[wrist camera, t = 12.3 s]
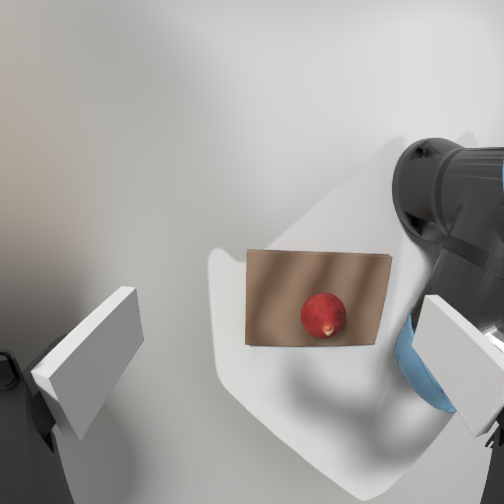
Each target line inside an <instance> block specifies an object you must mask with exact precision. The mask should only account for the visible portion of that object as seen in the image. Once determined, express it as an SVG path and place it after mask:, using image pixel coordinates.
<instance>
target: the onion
mask: <svg viewBox="0 0 504 504" xmlns="http://www.w3.org/2000/svg"><path fill="white" fill-rule="evenodd" d="M300 314H301V323H302V325H303V327H304V329H305V330H306V331H307V332H308V333H309V334H311V335H312V336H313V337H317V338H320V339H326V338H331V337H333V336H335V335H336V334H338V333H339V332H340V331H341V329H342V328H343V326H344V324H345V321H346V309H345V307H344V304H343V302H342V301H341V300H340V299H339V298H338V297H336V296H335V295H334V294H330V293H318V294H315V295H313V296H311V297H309V298H308V299H307V301H306V302H305V303H304V304H303V306H302V309H301V311H300Z"/></svg>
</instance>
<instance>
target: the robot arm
mask: <svg viewBox="0 0 504 504" xmlns="http://www.w3.org/2000/svg"><path fill="white" fill-rule="evenodd" d="M392 193H393V201H394V205H395V208H396V211H397V214H398V216H399V218H400V220H401V221H402V223H403V224H404V226H405V227H406V228H407V229H408V230H409V231H410V232H411V233H412V234H414V235H415V236H417V237H419V238H421V239H423V240H425V241H428V242H431V243H444V245H443V247H442V249H441V252H440V254H439V257H438V259H437V261H436V264H435V266H434V268H433V270H432V273H431V275H430V277H429V279H428V281H427V283H426V285H425V287H424V289H423V291H422V293H421V295H420V297H419V299H418V300H417V302H416V304H415V306H414V308H412V309H411V310H410V311H409V313H408V319H407V321H406V323H405V325H404V327H403V329H402V331H401V333H400V335H399V336H398V339H397V341H396V347H395V354H396V359H397V361H398V363H399V368H400V370H401V372H402V374H403V375H404V377H405V379H406V380H407V382H408V383H409V384H410V386H411V387H412V388H413V389H414V390H415V391H416V393H417V394H418V395H419V396H420V397H421V398H423V399H424V400H425V401H426V402H427V403H429V404H430V405H431V406H433V407H435V408H437V409H439V410H442V409H443V410H444V411H445V412H448V413H453V412H457V411H458V413H459V415H460V416H461V418H462V419H463V421H464V422H465V424H466V426H467V427H468V429H469V430H470V432H471V434H472V435H473V437H474V438H475V437H478V436H480V435H482V434H485V433H487V432H488V431H489V430H490V428H491V427H492V425H493V424H494V422H495V421H497V422H498V424H499V426H498V428H497V429H496V430H495V432H494V433H493V435H492V436H491V437H490V439H489V440H488V441H487V443H486V445H485V447H488V445H489V444H490V443H491V441H494V442H493V444H492V446H491V447H490V448H493V449H492V455H491V461H490V466H489V471H488V475H487V480H486V484H485V488H484V492H483V495H482V499H481V503H480V504H504V147H488V148H464V147H462V146H460V145H458V144H456V143H454V142H451V141H449V140H447V139H443V138H428V139H422V140H419V141H417V142H415V143H413V144H412V145H410V146H409V147H408V148H407V149H406V150H405V151H404V152H403V154H402V155H401V157H400V158H399V160H398V162H397V165H396V167H395V171H394V175H393V182H392ZM143 341H144V338H143V332H142V326H141V320H140V313H139V306H138V298H137V291H136V288H135V287H123V286H121V287H120V288H119V289H118V290H117V291H115V292H114V293H113V294H112V295H111V296H110V297H109V298H108V299H106V300H105V301H104V302H103V303H102V304H101V305H100V306H99V307H97V308H96V309H95V310H94V311H93V312H92V313H91V314H90V315H89V316H87V317H86V318H85V319H84V320H83V321H82V322H81V323H80V324H79V325H78V326H77V327H76V328H75V329H73V330H72V331H71V332H70V333H69V334H65V335H63V336H61V337H59V338H57V339H56V340H55V341H54V342H52V343H51V344H50V345H49V346H48V348H46V349H45V350H44V351H43V352H42V354H40V355H39V356H38V357H37V358H36V359H35V360H34V361H33V362H32V363H30V365H28V366H27V367H26V369H24V370H23V371H21V369H20V367H19V364H18V362H17V359H16V357H15V355H14V353H13V352H12V351H9V350H0V504H74V502H73V499H72V496H71V493H70V490H69V487H68V484H67V480H66V477H65V474H64V470H63V467H62V463H61V459H60V455H59V452H58V447H57V443H56V438H55V435H54V433H53V431H52V428H53V426H54V425H55V423H56V424H57V425H58V427H59V429H60V431H61V432H62V434H63V435H66V436H68V437H71V438H73V439H76V440H79V441H81V439H82V437H83V436H84V434H85V432H86V431H87V429H88V428H89V426H90V424H91V423H92V421H93V419H94V418H95V416H96V414H97V412H98V411H99V410H100V408H101V406H102V405H103V403H104V402H105V400H106V398H107V397H108V395H109V394H110V392H111V390H112V389H113V387H114V386H115V384H116V382H117V381H118V379H119V378H120V376H121V375H122V373H123V372H124V370H125V369H126V367H127V365H128V364H129V362H130V361H131V359H132V358H133V356H134V354H135V353H136V351H137V350H138V349H139V347H140V346H141V344H142V343H143Z"/></svg>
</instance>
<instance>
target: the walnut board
mask: <svg viewBox="0 0 504 504" xmlns="http://www.w3.org/2000/svg"><path fill="white" fill-rule="evenodd" d="M391 262H392V257H391V256H390V255H388V254H364V253H336V252H308V251H279V250H249V249H248V250H247V271H246V328H245V345H270V346H337V345H363V344H375V340H376V336H377V332H378V328H379V324H380V320H381V315H382V311H383V306H384V301H385V296H386V291H387V285H388V280H389V274H390V268H391ZM318 293H330V294H334V295H335V296H336V297H338V298H339V299H340V300H341V301H342V302H343V304H344V307H345V309H346V321H345V324H344V326H343V328H342V329H341V331H340V332H339V333H338V334H336V335H335V336H333V337H331V338H326V339H320V338H317V337H313V336H312V335H311V334H309V333H308V332H307V331H306V330H305V329H304V327H303V325H302V323H301V314H300V311H301V309H302V306H303V304H304V303H305V302H306V301H307V299H308V298H309V297H311V296H313V295H315V294H318Z"/></svg>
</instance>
